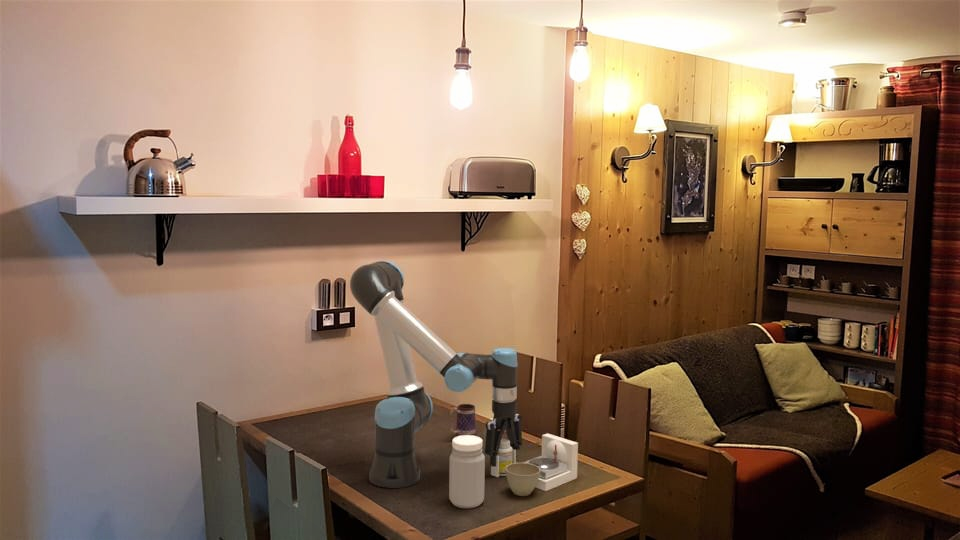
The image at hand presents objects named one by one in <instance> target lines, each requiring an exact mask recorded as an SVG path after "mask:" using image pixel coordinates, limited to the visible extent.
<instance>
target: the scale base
mask: <svg viewBox="0 0 960 540" xmlns="http://www.w3.org/2000/svg"><path fill="white" fill-rule="evenodd" d="M578 454H579V442H577V441H573V440H570V439H567V438H564V437H563V438H562V437H560V436H557V435H554V434H551V433H549V432H547V433H545V434H542V435H541V456H545V457H548V458H551V459H554V460H556V461H559V462H562V463H565V464H567V470H566V471H564V472H561V473H559V474H556V475H554V476H551V477H549V478H546V479H545V478H542V477H539V478H538V481H537V484H536V486H535V489H539V490H541V491H544V492H547V491H550V490H552V489H554V488H557V487H559V486H562V485H564V484H566V483H569V482H571V481H574V480H576V479H578V462H579V461H578V459H579V457H578V456H579V455H578Z"/></svg>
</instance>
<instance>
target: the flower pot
mask: <svg viewBox="0 0 960 540" xmlns="http://www.w3.org/2000/svg"><path fill="white" fill-rule="evenodd" d="M505 470H506V476H505V477H506V479H507V483H508V485H509V488H510V489H511V492H512V493H513V494H514V495H516V496H520V497H526V496H529V495H531V494H532V492H533V491H534V489H536V487H535V486H536V484H537V481H538V478H539V475H540V468H539V467H538V466H536V465H533V464H530V463H523V462H516V463H512V464H509V465H507V466H506V468H505Z"/></svg>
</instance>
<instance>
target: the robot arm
mask: <svg viewBox="0 0 960 540" xmlns="http://www.w3.org/2000/svg"><path fill="white" fill-rule="evenodd" d="M404 285H405V277H404V273H403V271H402V270H401V269H400V266H398V265H397V264H396V263H393V262H391V261H387V260H385V261H384V260H383V261H382V260H381V261H375V262H371V263H369V264H364V265H361V266H360V267H358V268H357V269H356V270H354V271H353V272H352V275H351V277H350V282H349V289H350V292H351V294H352V297H353V298H354V299H355V300H356V302H358V304H359V305H360V306H361V307H362V308H363V309H364V310H366V312H367V313H368V314H370V316H372V317H374V321H375V325H376V330H377V334H378V339H379V343H380V348H381V352H382V356H383V360H384V364H385V370H386V373H387V378H388V381H389V382H388V383H389V386H390V387H389V388H388V391H386V395H387V398H385V399H382V400H380V401H379V402H378V404H376V406H375V412H374V416H373V417H374V443H375V444H374V451H375V452H374V457H373V460H372V465H371V468H370V470H369V473H368V474H369V477H368V481H369V482H370V481H371V482H372V483H373V485H374V484H375V485H374V486H376V485H377V486H376V487H380V486H381V488H385V487H386V488H387V489H388V488H389V489H398V488H399V489H401V488H405V487H406V488H407V487H410V486H412V485H415V484H417V483H418V482H419V481H420V479H421V469H420V466H419V463H418V460H417V457H416V454H415V435H416V433H417V432H418V431H419V430H420V429H422V428H423V427H424V426H426V425H427V423H428V422H429V420H430V418H431V416H432V414H433V410H434V406H433V405H434V404H433V402H432V401H433V400H432V399H431V397H430V395H429V394H428V393H427V392H426V391H425V388H424V384H423V383H422V382H421V381H419V380H418V379H417V373H416V370H415V364H414V362H413V355H412V351H411V349H413V351H415V352H416V353H417V354H418V355H419V356H420V357H422V358H423V360H424V361H426V362H427V363H428V364H429V365H430V366H431V367H432V368H433V369H434V370H436V371H437V372H438V373H439V374H440V375H441V376H442V377H443V378H444V383H445V385H446V388H448V390H450V391H451V392H454V393H460V392H463V391H464V392H465V391H466V390H467V389H468V388H470V387H471V386H472V385H473V383H474V382H476V381H477V380H491V384H492V385H491V398H492V399H491V411H492V413H493V418H492V420H491V421H490V422H489V421H486V422H485V427H486V434H485V446H484V454H485V455H487V456H489V466H490V475H491V476H493V477H495V478H499V477H500V476H499V456H498V455H497V454H498V450H499V446H500V442H501V439H503V435H505V432H506V437H507V440H509V441H510V446H511V447H512V463H517V459H518V451H519V450H520V449H521V446H522V445H523V435H522V419H523V416H522V414H519V413H516V412H517V411H518V410H517V409H518V407H517V405H518V401H517V392H518V391H517V390H518V367H519V366H518V365H519V364H518V355H517V351H516V349H513V348H510V347H498V348H494V349H493V350H492V353H491V354H484V353H483V354H481V353H469V352H464V353H463V352H458V353H457V352H455V350H453V349H452V348H451V347H450V346H449V345H448V344H447V343H446V342H444V340H443V339H441V338H440V337H439V336H438V335H437V334H436V333H435V332H434V331H433V330H432V329H430V328H429V327H428V326H427V325H426V324H425V323H424V322H423V321H422V320H421V319H419V318H418V316H416V315H415V314H414V313H413V312H412V311H411V310H410V309H409V308H408V307H407V306H406V305H405V304H403V303H404V301H405V299H404V295H403V289H404V288H403V287H404ZM371 482H370V483H371ZM372 483H371V484H372Z"/></svg>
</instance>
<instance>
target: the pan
mask: <svg viewBox="0 0 960 540" xmlns="http://www.w3.org/2000/svg"><path fill="white" fill-rule="evenodd" d="M522 463H530V464H533V465H536V466H538V467H539V468H540V475H539V477H542V478H545V479H546V478H549V477H551V476H554V475H556V474H559V473H561V472H564V471H566V470H567V464H565V463H562V462H559V461H556V460H554V459H551V458H548V457H545V456H542V455H540V456H537V457H534V458H532V459H528V460H526V461H523V462H522Z"/></svg>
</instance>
